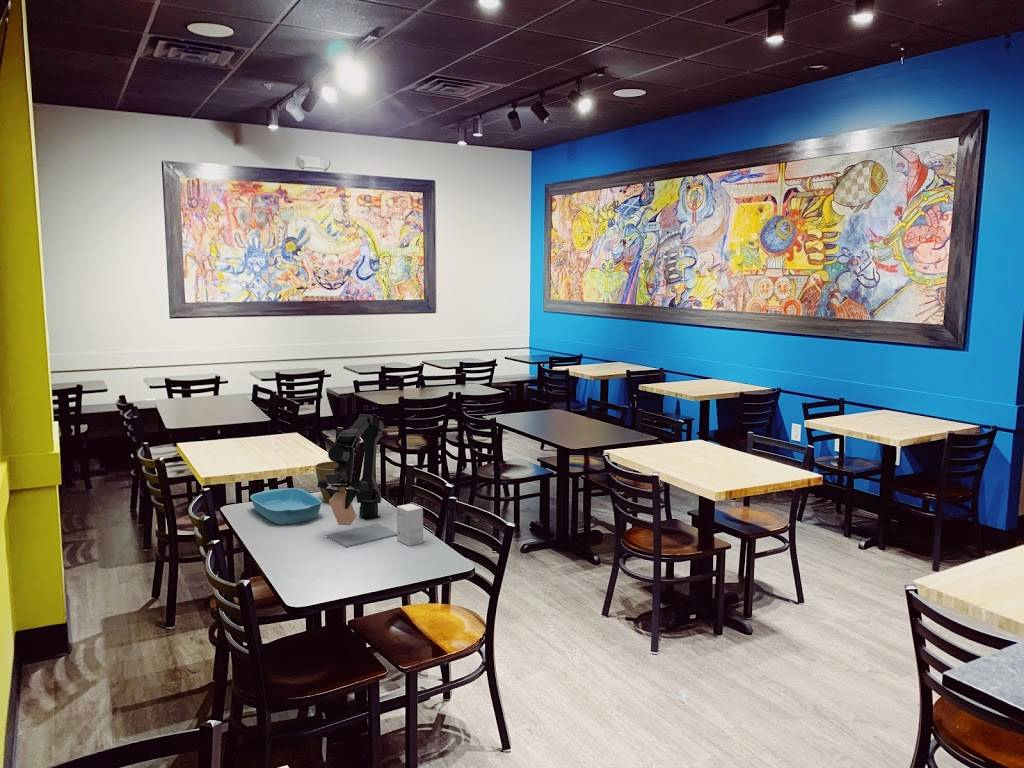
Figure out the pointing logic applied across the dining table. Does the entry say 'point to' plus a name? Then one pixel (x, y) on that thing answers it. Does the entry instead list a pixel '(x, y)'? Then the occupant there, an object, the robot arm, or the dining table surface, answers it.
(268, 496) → the casserole dish
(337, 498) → the block
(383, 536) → the mat
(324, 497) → the plant pot
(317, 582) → the dining table surface
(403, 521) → the small box
